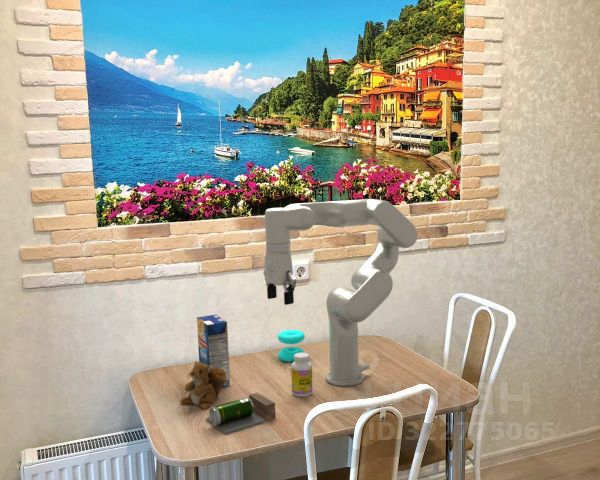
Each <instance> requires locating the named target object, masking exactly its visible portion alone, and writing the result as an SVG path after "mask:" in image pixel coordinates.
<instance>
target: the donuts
mask: <svg viewBox="0 0 600 480" xmlns="http://www.w3.org/2000/svg"><path fill="white" fill-rule="evenodd" d="M305 338H306V336H305V333H304V332H303V331H302V330H298V329H285V330H281V331H280V332H278V335H277V339H278V341H279V342H280V343H282V344H286V345H297V344H299V343H302V342H304V340H305ZM296 353H306V351H304V350H303V348H301V347H297V346H289V347H288V346H287V347H284V348H282V349H280V350H279V351H278V355H277V356H278V358H279V359H280V361H283V362H287V363H293V362H295V359H294V355H295V354H296Z"/></svg>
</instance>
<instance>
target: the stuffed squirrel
mask: <svg viewBox="0 0 600 480" xmlns="http://www.w3.org/2000/svg"><path fill="white" fill-rule="evenodd" d="M211 368H212V366H211V365H210V366H207V365H206V364H204V363H200V362H199V361H197V360H196V361H194V365H193V368H192V369H191V371H190V372H189V373H188V374H187V376H186V377H187V380H190V378H191V379H192V380H191V381H189V382H188V383H186V384H185V386H184V387H185V391H186V392H187V393H188V392H189V394H188V396H187V397H185V396H184V397H183V398H181V400H180V404H181V405H189V404H193V405H195V406H200V408H201V409H202V410H208V409H209V408H212V406H213V405H214V404H215V401H216V399H217V397H219V396H220V393H221V391H222V389H221V386H223V385H222V384H223V383H224V382H225V381H227V380H226V379H227V378H226V377H227V376H226V374H228V373H226V372H225V371H224V370H223V369H220V368H212V369H211Z"/></svg>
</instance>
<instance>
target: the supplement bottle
mask: <svg viewBox="0 0 600 480" xmlns="http://www.w3.org/2000/svg"><path fill="white" fill-rule="evenodd" d="M294 359H295V362H291V367H290V368H291V369H290V372H291V393H292V395H294V396H296V397H299V398H301V397H302V398H305V397H309V396H311V395H312V394H313V364H312V362H311V361H309V359H310V355H309V353H307V352H305V353H296V354H295V355H294Z"/></svg>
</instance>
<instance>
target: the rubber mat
mask: <svg viewBox="0 0 600 480" xmlns="http://www.w3.org/2000/svg"><path fill="white" fill-rule="evenodd" d="M205 420H206V421H207V422H208V423H210V424H211V425H212V426H213V427H214V428H216V429H217V430H219V432H221V433H223V434H224V435H229V434H232V433H235V432H239V431H242V430H245V429H248V428H251V427H255V426H258V425H261V424H264V423H266V422H267V420H266V419H264V418H263V417H261V416H260V415H258V414H257V413H255V412H254V413H253V414H252V415H251V416H249V417H245V418H242V419H239V420H235V421H232V422H229V423H225V424H222V425H216V426H215V425H213V424H212V422H211V419H210V416H208V417H206V419H205Z"/></svg>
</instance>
